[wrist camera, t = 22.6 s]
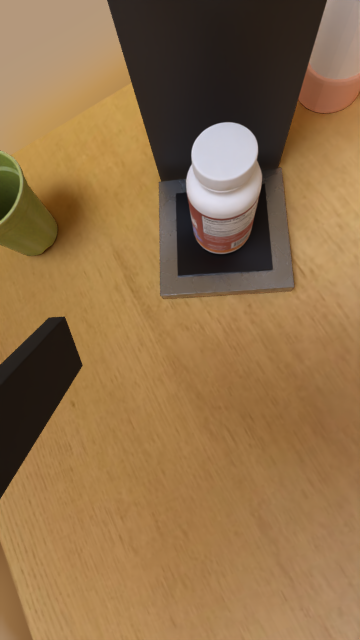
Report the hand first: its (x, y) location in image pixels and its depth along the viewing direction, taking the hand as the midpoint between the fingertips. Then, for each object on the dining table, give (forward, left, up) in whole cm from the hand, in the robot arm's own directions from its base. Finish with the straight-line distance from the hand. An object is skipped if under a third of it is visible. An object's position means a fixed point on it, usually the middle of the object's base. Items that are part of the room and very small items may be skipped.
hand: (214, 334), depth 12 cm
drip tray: (-11, +8, -18) cm, 23 cm away
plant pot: (-25, -11, -18) cm, 33 cm away
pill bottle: (-11, +8, -16) cm, 21 cm away
